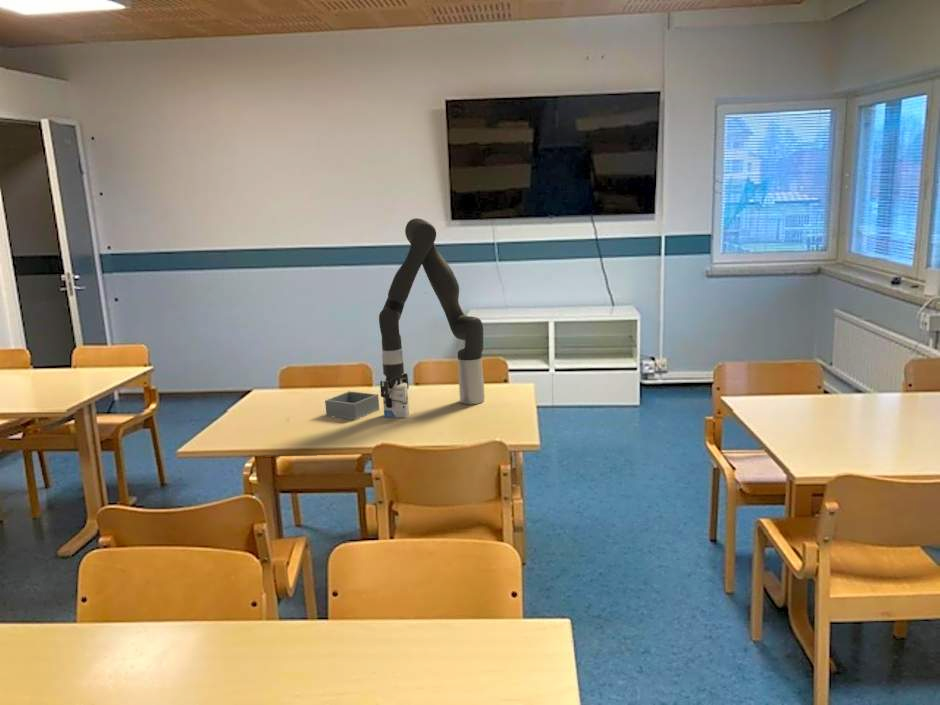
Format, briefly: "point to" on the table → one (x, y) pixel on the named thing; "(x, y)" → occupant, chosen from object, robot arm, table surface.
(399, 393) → the ink box
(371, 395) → the grey bin
